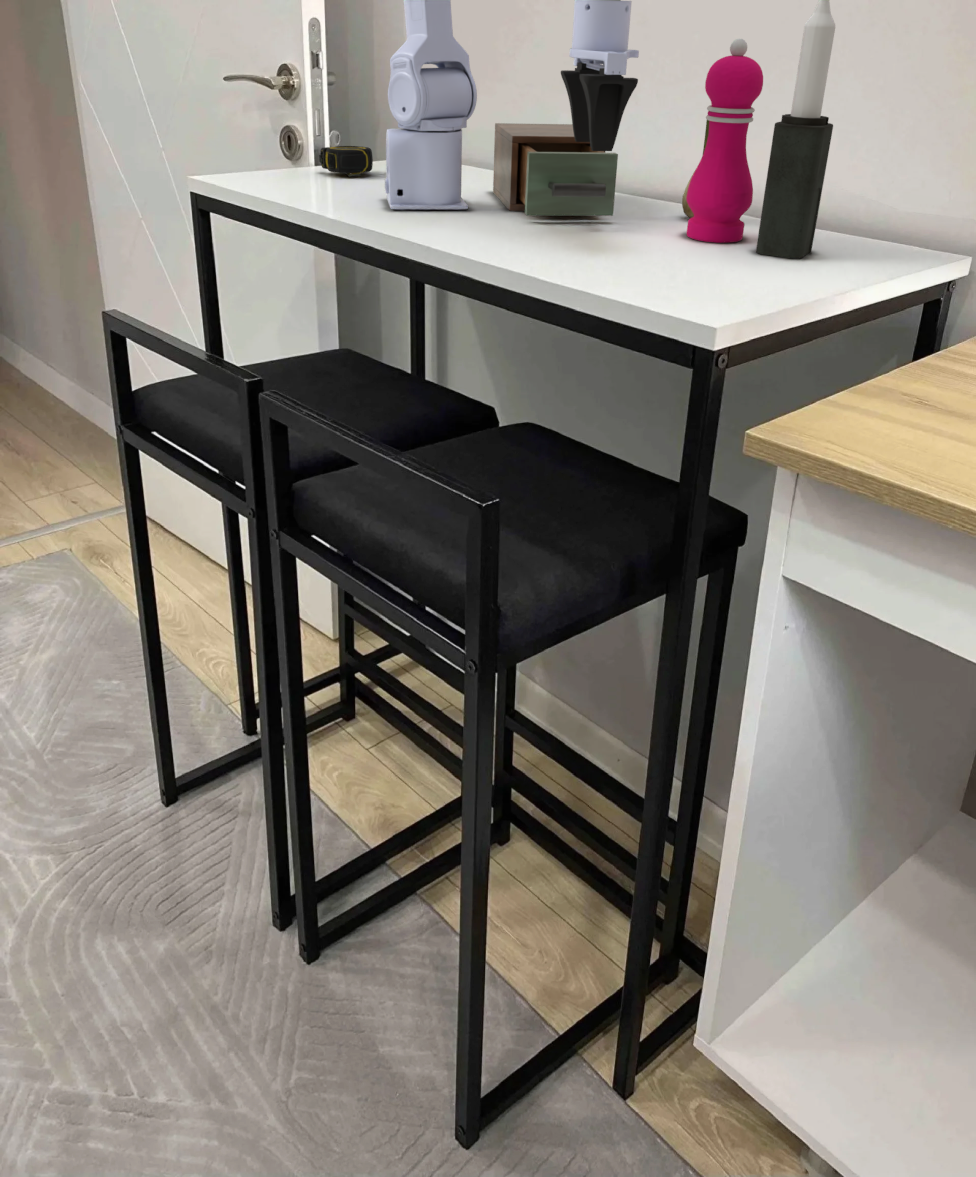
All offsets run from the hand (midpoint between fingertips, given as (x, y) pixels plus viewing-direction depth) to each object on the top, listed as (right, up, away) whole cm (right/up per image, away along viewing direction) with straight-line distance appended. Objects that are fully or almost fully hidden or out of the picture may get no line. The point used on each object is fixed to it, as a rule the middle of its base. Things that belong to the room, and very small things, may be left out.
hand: (592, 146), depth 112 cm
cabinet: (-4, +3, +25) cm, 25 cm away
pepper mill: (+14, -8, +7) cm, 18 cm away
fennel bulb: (+15, -2, +17) cm, 23 cm away
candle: (+21, -11, +1) cm, 23 cm away
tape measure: (-32, +13, +40) cm, 53 cm away
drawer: (-2, -1, +15) cm, 15 cm away
